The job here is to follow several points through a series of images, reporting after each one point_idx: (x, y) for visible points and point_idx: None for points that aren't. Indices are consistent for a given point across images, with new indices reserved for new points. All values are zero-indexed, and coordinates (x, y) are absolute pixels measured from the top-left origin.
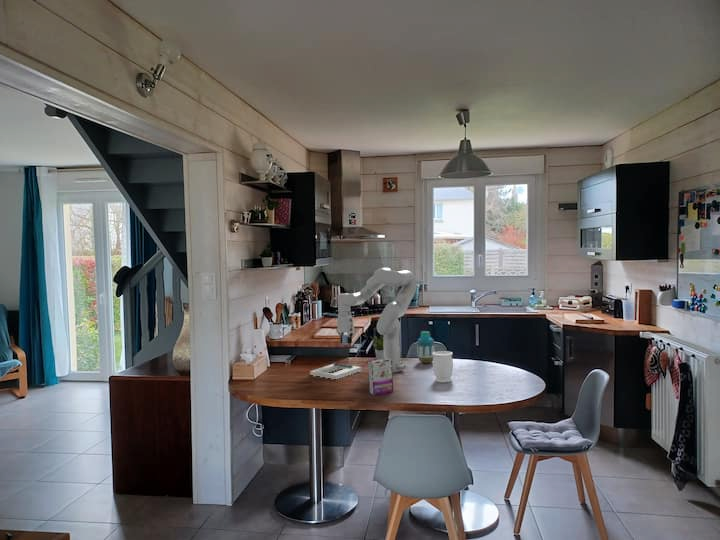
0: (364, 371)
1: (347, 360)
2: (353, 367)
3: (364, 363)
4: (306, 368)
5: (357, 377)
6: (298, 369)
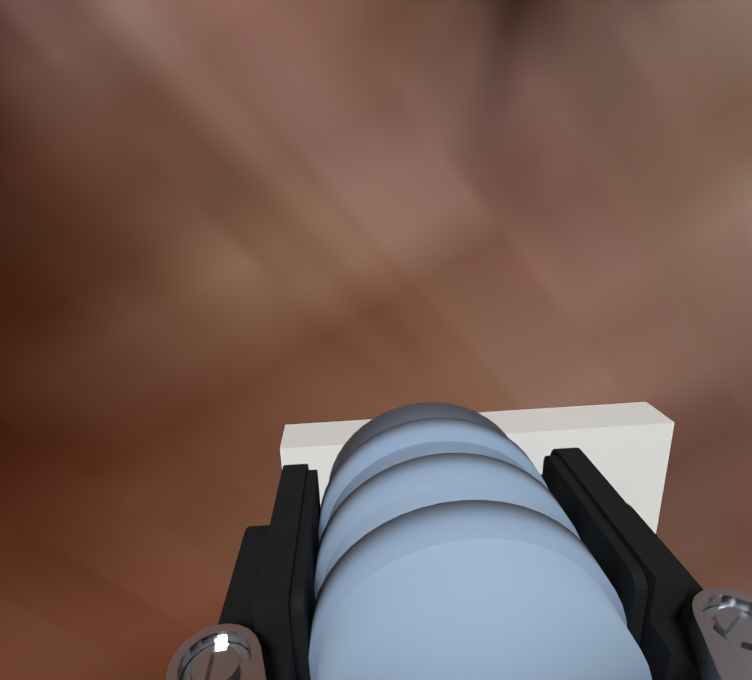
0: (682, 387)
1: (105, 39)
2: (606, 476)
3: (464, 70)
4: (51, 601)
5: (725, 565)
6: (23, 660)
